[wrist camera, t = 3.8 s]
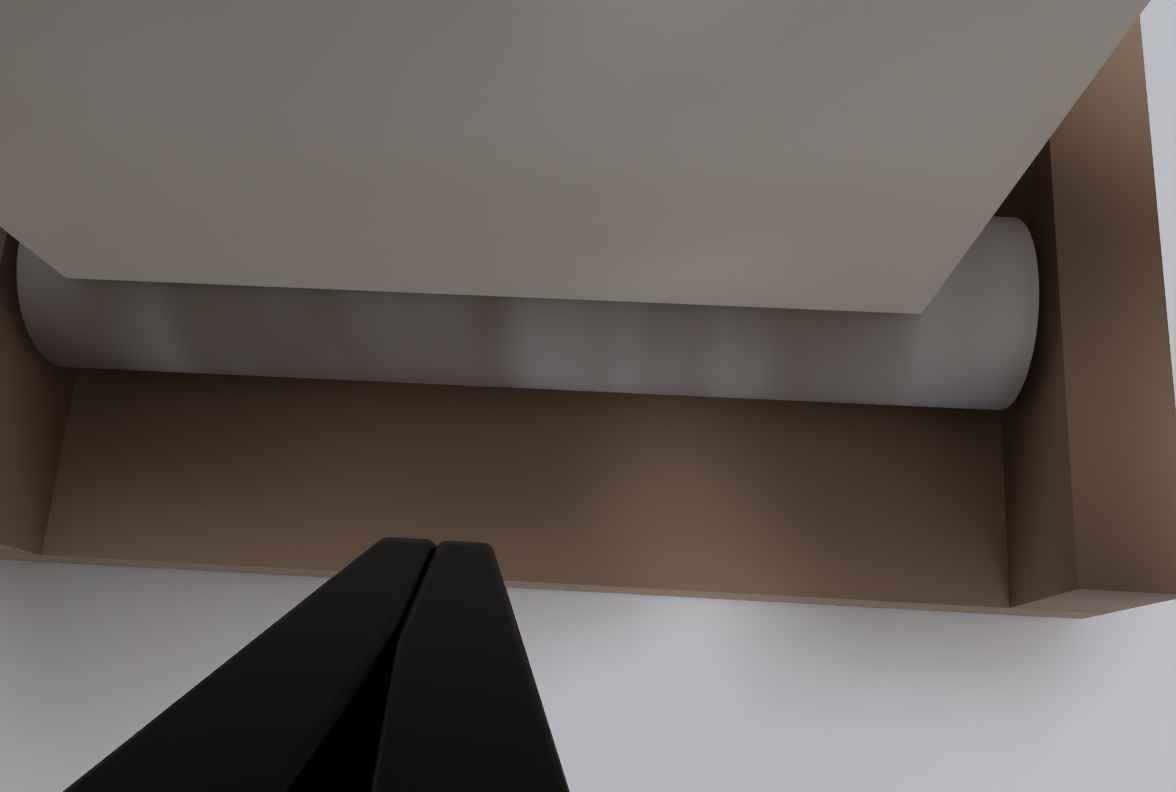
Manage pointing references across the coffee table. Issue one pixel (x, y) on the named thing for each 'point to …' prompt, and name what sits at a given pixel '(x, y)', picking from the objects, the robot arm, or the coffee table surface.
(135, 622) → the coffee table surface
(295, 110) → the limestone slab
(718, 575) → the roller bed
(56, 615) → the coffee table surface
